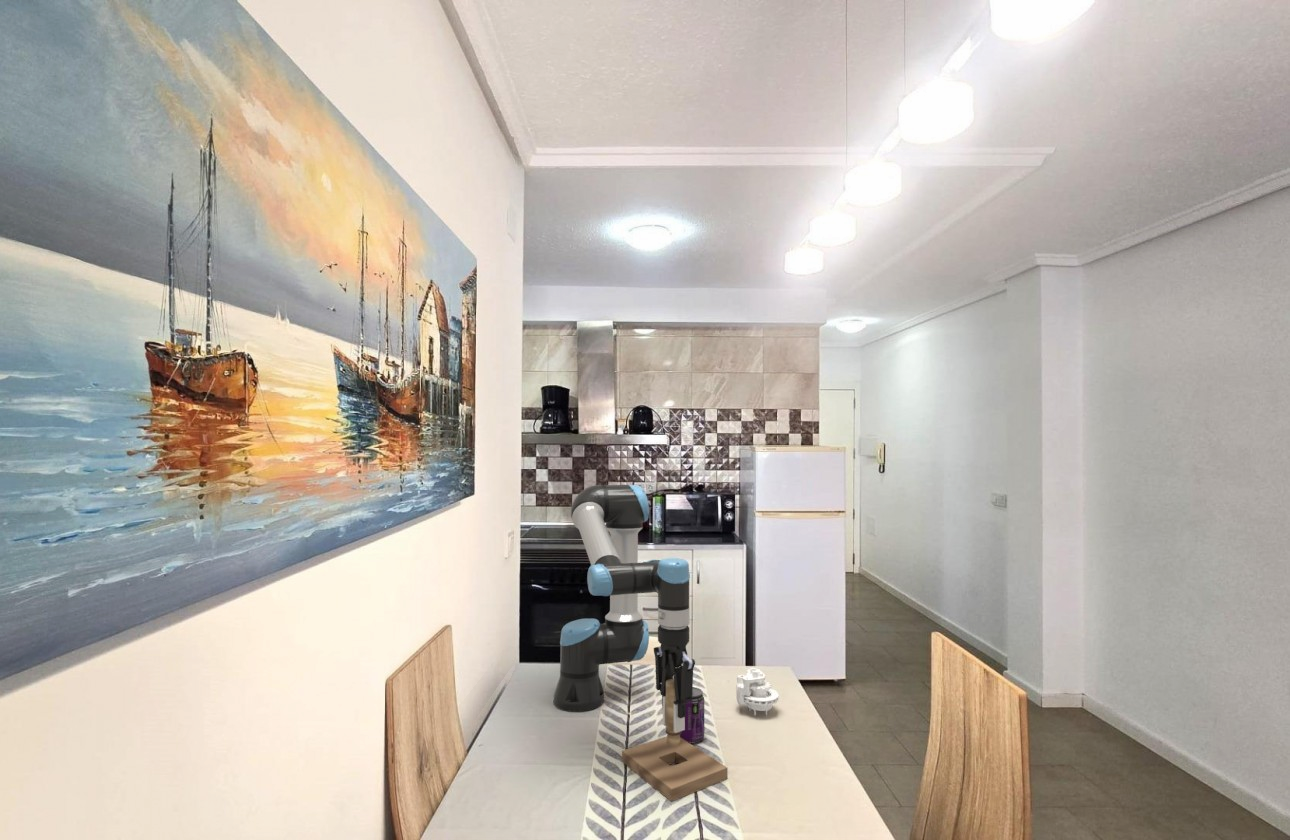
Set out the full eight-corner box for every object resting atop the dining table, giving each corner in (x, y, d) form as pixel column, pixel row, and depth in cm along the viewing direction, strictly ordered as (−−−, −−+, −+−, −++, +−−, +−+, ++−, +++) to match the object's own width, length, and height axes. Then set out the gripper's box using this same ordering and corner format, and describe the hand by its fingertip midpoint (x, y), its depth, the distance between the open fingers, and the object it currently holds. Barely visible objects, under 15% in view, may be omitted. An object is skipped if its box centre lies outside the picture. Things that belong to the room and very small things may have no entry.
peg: (662, 742, 139) (662, 680, 140) (675, 738, 141) (674, 677, 142) (671, 748, 136) (671, 685, 137) (684, 744, 138) (684, 682, 139)
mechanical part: (776, 722, 163) (776, 679, 164) (733, 716, 167) (733, 673, 168) (780, 706, 174) (780, 665, 175) (740, 701, 178) (739, 661, 179)
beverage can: (702, 746, 150) (702, 697, 150) (675, 743, 151) (675, 695, 152) (705, 733, 157) (705, 687, 157) (679, 731, 158) (679, 685, 159)
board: (621, 761, 142) (621, 750, 142) (674, 743, 151) (674, 733, 151) (671, 801, 125) (671, 789, 125) (727, 778, 134) (727, 767, 134)
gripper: (641, 620, 145) (640, 718, 143) (682, 636, 131) (682, 745, 130) (665, 615, 149) (665, 711, 147) (708, 631, 136) (708, 736, 134)
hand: (673, 727), depth 139 cm, fingers closed on peg, 3 cm apart
